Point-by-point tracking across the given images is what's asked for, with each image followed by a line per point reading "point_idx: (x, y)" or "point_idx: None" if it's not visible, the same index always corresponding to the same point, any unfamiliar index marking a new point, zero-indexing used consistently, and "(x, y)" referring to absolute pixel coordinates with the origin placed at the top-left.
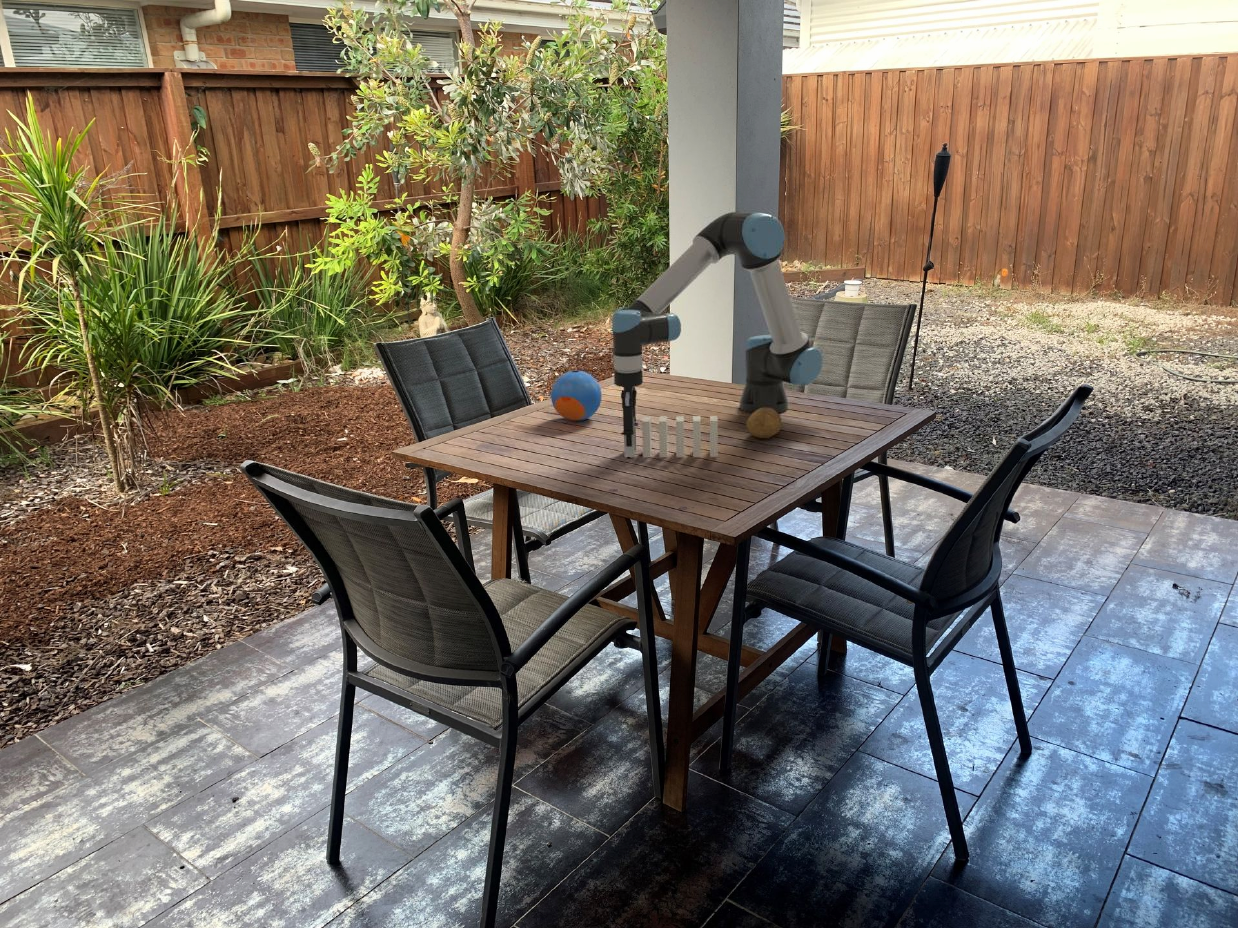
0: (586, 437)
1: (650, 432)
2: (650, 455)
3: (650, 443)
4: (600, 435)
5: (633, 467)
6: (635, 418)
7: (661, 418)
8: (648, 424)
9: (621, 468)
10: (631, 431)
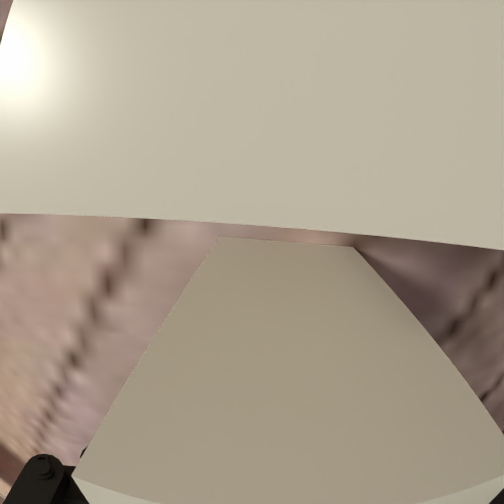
0: None
1: (261, 317)
2: (333, 247)
3: (310, 272)
4: (21, 422)
5: (484, 336)
6: (44, 485)
7: (353, 104)
8: (489, 443)
9: (474, 383)
10: (498, 494)
